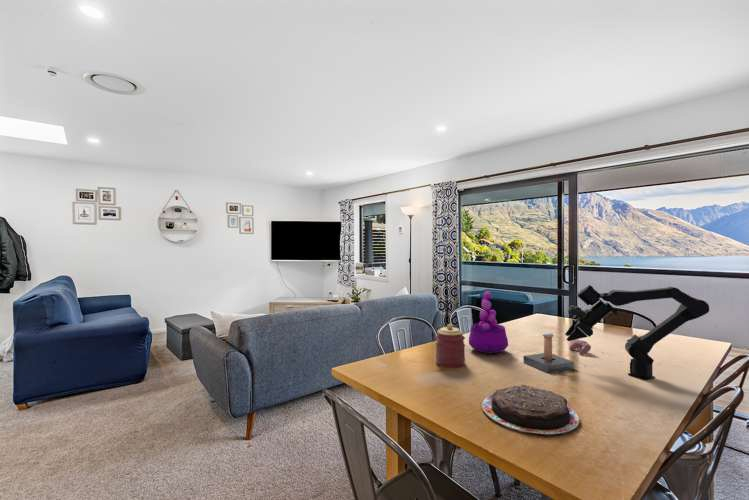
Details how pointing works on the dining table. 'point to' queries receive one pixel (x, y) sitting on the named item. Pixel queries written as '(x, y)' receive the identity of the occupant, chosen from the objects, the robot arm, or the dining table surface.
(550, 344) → the pin
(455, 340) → the canister
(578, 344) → the mauve curved piece
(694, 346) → the dining table surface
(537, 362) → the dark grey square base
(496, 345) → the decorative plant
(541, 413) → the chocolate cake
